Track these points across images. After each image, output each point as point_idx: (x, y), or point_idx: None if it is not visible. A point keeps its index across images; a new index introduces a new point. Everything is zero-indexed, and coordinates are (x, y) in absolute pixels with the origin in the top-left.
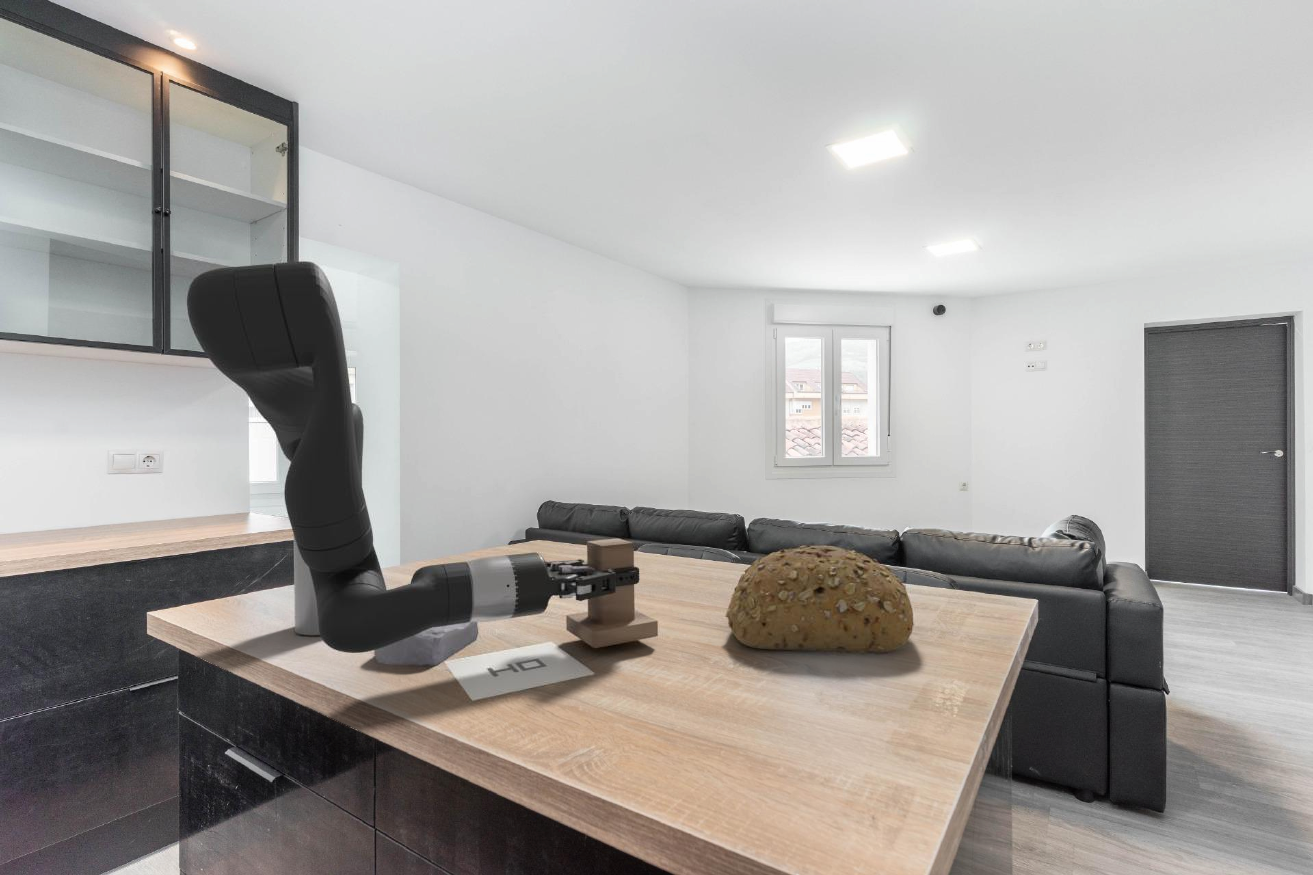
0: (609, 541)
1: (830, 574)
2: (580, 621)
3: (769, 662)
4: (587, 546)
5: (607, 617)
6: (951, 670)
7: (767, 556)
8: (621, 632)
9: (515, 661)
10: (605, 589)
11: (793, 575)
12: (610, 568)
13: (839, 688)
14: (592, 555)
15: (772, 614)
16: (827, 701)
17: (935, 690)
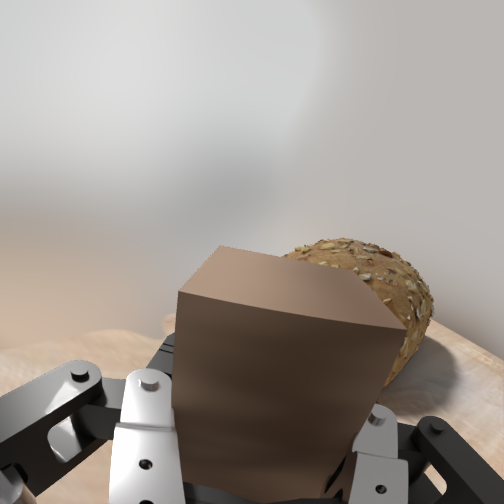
0: (272, 273)
1: (419, 279)
2: None
3: (415, 397)
4: (181, 323)
5: None
6: (443, 336)
7: (338, 257)
8: None
9: None
10: (415, 486)
11: (412, 286)
12: (381, 409)
13: (477, 388)
14: (253, 379)
15: (412, 342)
16: (500, 403)
17: (475, 356)
